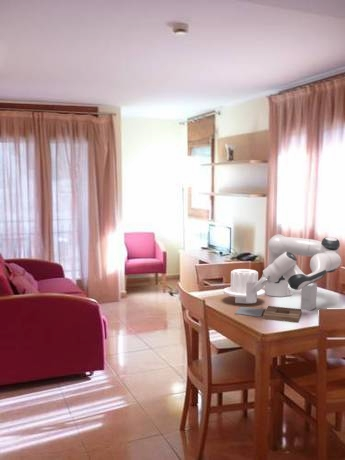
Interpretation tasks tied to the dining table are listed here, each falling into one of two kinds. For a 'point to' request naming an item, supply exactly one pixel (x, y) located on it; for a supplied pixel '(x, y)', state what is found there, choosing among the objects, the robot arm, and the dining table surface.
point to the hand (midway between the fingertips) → (252, 291)
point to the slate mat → (250, 311)
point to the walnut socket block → (282, 314)
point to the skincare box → (309, 297)
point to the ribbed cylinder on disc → (242, 284)
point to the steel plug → (250, 297)
